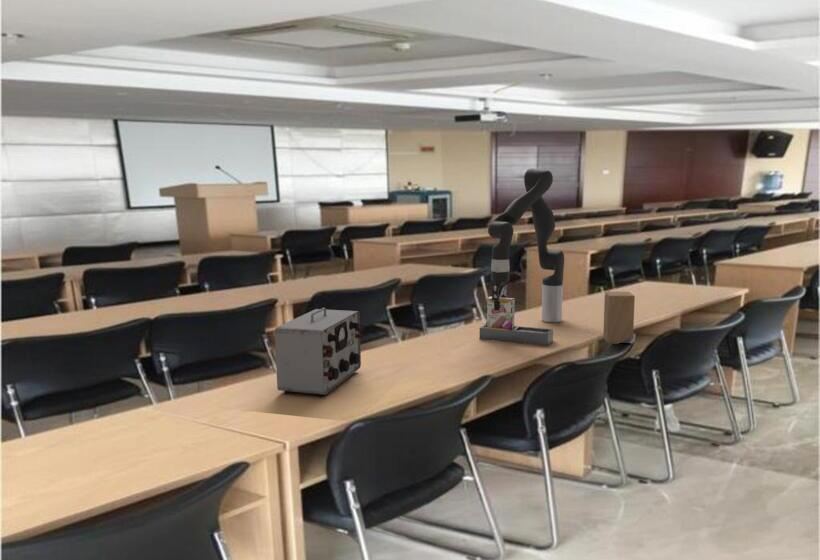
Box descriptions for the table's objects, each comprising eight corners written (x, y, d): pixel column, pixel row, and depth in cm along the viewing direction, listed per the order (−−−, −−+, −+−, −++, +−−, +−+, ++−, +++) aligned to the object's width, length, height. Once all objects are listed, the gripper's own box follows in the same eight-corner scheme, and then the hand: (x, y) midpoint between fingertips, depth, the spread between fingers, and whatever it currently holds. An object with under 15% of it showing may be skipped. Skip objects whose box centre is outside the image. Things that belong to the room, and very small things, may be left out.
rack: (486, 334, 288) (486, 322, 287) (552, 341, 275) (553, 328, 274) (479, 339, 280) (479, 326, 279) (547, 345, 268) (548, 333, 267)
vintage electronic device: (330, 400, 207) (327, 322, 203) (277, 395, 212) (274, 318, 208) (366, 371, 237) (364, 302, 233) (319, 367, 242) (317, 300, 238)
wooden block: (627, 338, 278) (629, 291, 275) (633, 344, 268) (635, 295, 265) (603, 338, 279) (604, 291, 276) (607, 344, 269) (609, 295, 266)
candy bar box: (485, 336, 280) (485, 298, 278) (488, 333, 285) (488, 296, 282) (511, 338, 276) (512, 299, 274) (514, 335, 281) (514, 297, 278)
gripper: (497, 267, 284) (496, 304, 286) (486, 271, 271) (485, 310, 274) (514, 267, 281) (513, 305, 283) (503, 272, 268) (503, 312, 271)
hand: (500, 308), depth 278 cm, fingers open, 8 cm apart
